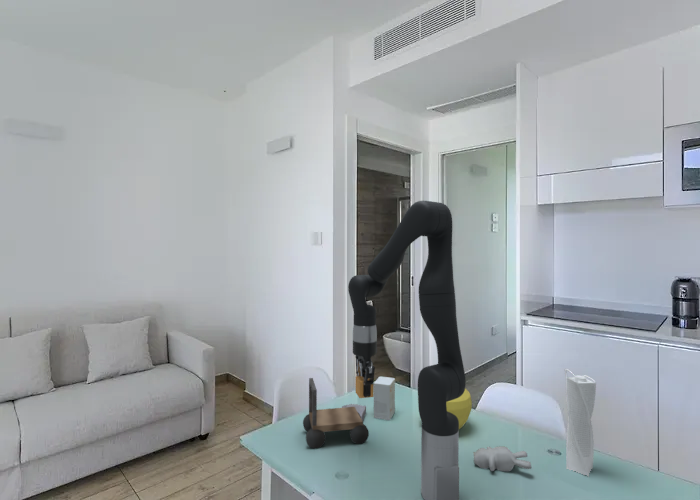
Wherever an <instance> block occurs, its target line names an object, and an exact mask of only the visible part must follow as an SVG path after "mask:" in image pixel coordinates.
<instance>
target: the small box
mask: <svg viewBox="0 0 700 500" xmlns="http://www.w3.org/2000/svg"><path fill="white" fill-rule="evenodd" d="M395 400H396V378H394V377H387V376H378V378H376V380H374V392H373V418H374V419H378V420H379V419H380V420H385V421H391V419H392V418H393V415H394V414H395V412H396V401H395Z"/></svg>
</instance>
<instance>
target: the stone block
mask: <svg viewBox="0 0 700 500" xmlns="http://www.w3.org/2000/svg"><path fill="white" fill-rule="evenodd" d="M345 407H355V408H356V410H357V412H358V413H359V414H360V416H361V419H362V421H363V422H364V419H365V417H366V413H367V405H361V404H358V403H350V404H346V405H342V406H341V408H345Z"/></svg>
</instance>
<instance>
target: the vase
mask: <svg viewBox="0 0 700 500" xmlns="http://www.w3.org/2000/svg"><path fill="white" fill-rule="evenodd" d="M472 404H473V402H472V396H471V393H470V392H469V390H468V389H467V387H465V391H464V393H463V394H462V396H460V397H459V398H456V399H454V400H451V401H448V402H446V407H447V411H448V412H450V413H452V414H454V415H455V416H456V417H457V418H458V421H459V430H460V429H461V428H463V427H464V425H465V424H466V423H467V422H468V421H469V418H470V415H471V411H472V408H473V407H472V406H473V405H472Z"/></svg>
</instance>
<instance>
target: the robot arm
mask: <svg viewBox="0 0 700 500" xmlns="http://www.w3.org/2000/svg"><path fill="white" fill-rule="evenodd" d="M421 237H426V239H427V249H428V250H427V252H428V253H427V260H426V264H425V266H424V268H423V271H422V274H421V276H420V280H419V284H418V303H419V304H418V305H419V311H420V313H419V314H420V316H421V318H422V320H423V322H424V323H425V326H426V328H427V329H428V330H429V332H430V334H431V336H432V337H433V339H434V342H435V346H436V350H437V351H436V352H437V363H436V364H433V365H428V366H425V367H423V368H421V370H420V372H419V373H418V376H417V405H418V406H417V407H418V412H419V417H420V422H421V436H420V437H421V438H420V439H421V442H420V443H421V444H420V445H421V446H420V447H421V452H420V453H421V459H420V462H421V465H420V474H421V475H420V476H421V478H420V480H421V481H420V487H421V488H420V492H421V493H420V494H421V497H422V498H423V499H424V500H460V466H459V450H460V448H459V443H460V441H459V440H460V439H459V438H460V437H459V436H460V435H459V434H460V429H459V421H458V418H457V417H456V416H455V415H454V414H452V413H450V412H448V411H447V407H446V402H448V401H451V400H454V399H456V398H459V397H460V396H462V394H463V393H464V391H465V388H466V373H465V367H464V361H463V357H462V350H461V345H460V337H459V329H458V319H457V302H456V292H455V291H456V289H455V283H454V282H455V281H454V267H453V216H452V212H451V209H450V208H449V206H447V205H446V204H445V203H443V202H438V201H430V200H418V201H416V202H414V203H412V205H411V206H410V207H409V208H408V209H407V211H406V212H405V214H404V215H403V217H402V219H401V221H400V222H399V223H398V226H397V227H396V228H395V230H394V232H393V234H392V235H391V237H390V239H389V240H388V241H387V243H386V245H385V246H384V247H383V248H382V250H380V251H379V253H377V255H376V257H374V258H373V259H372V261H371V262H370V263H369V265H368V267H367V273H368V274H358V275H357V274H356V275H353V276H352V277H351V278H350V280H349V282H348V294H349V298H350V302H351V306H352V310H353V327H352V354H353V356H354V355H355V369H356V371H355V373H356V374H357V376H361V377H363V396H364V397H368V398H371V397H370V396H371V385H372V384H373V383H374V382H375V369H376V367H375V365H373V360H372V357H374V356H376V355H377V353H378V351H377V350H378V338H377V337H378V336H377V335H378V331H377V330H378V329H377V309H376V306H374V305H372V304H368V303H367V299H366V298H373V297H376V296H378V295H379V294H380V293H381V292H382V291H383V289H384V288H385V286H386V284H387V282H388V279H389V278H390V277H392V276H393V274H394V273H395V272H396V271H397V270H398V269H400V267H401V265H402V264H403V261H404V258H405V254H406V251H407V249H408V248H409V247H410V245H411V244H412V243H414V242H415V241H416V240H417V239H418V238H421ZM368 378H369V381H367V380H368Z"/></svg>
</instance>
